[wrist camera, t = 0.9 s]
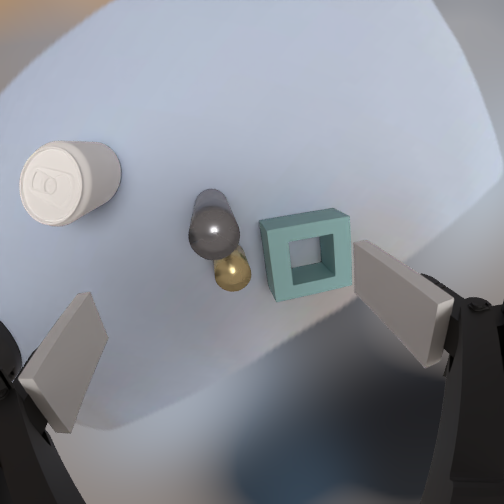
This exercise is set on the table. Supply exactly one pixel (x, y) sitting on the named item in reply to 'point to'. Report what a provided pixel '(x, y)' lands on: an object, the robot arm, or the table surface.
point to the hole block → (315, 275)
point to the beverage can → (68, 180)
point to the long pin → (213, 226)
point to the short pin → (232, 271)
